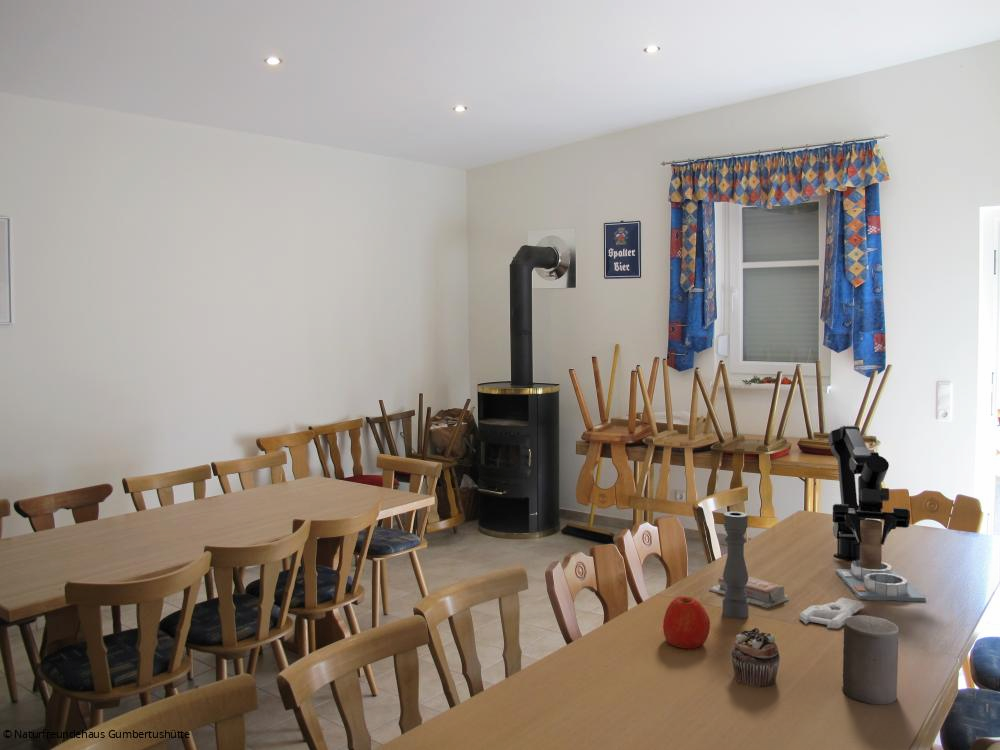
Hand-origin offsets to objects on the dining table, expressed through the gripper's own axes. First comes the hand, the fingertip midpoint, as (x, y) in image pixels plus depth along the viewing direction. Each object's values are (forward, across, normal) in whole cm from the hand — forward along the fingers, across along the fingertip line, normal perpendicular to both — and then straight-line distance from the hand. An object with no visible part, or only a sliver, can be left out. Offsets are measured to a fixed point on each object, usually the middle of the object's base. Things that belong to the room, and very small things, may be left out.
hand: (871, 543), depth 211 cm
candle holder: (+29, -32, -10) cm, 44 cm away
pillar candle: (+54, -3, -34) cm, 64 cm away
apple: (+45, -40, -25) cm, 65 cm away
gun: (+25, -9, -5) cm, 27 cm away
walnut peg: (+4, 0, +6) cm, 7 cm away
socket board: (+4, +2, +15) cm, 16 cm away
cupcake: (+54, -24, -35) cm, 69 cm away
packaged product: (+18, -30, +2) cm, 35 cm away
